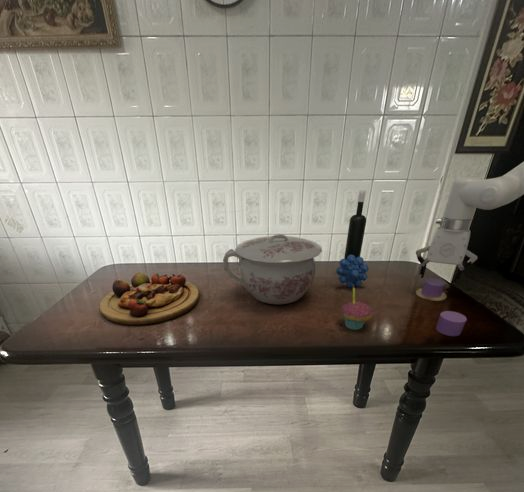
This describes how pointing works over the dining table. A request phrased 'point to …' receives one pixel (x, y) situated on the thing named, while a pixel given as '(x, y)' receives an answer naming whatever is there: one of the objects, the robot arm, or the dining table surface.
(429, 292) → the purple cylinder
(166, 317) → the wooden plate
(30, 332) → the dining table surface
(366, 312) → the cupcake
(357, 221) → the wine bottle
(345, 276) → the grapes
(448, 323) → the short purple cylinder
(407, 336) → the dining table surface
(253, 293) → the chamber pot
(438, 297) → the coaster
